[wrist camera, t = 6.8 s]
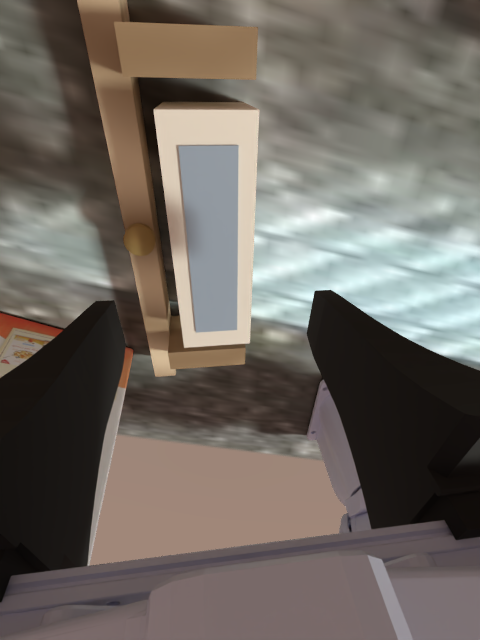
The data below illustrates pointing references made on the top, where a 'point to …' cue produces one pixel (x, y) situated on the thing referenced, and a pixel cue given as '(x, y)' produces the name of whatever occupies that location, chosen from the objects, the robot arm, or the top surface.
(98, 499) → the cracker box
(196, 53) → the ledge
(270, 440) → the top surface
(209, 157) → the cream block
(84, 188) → the top surface
